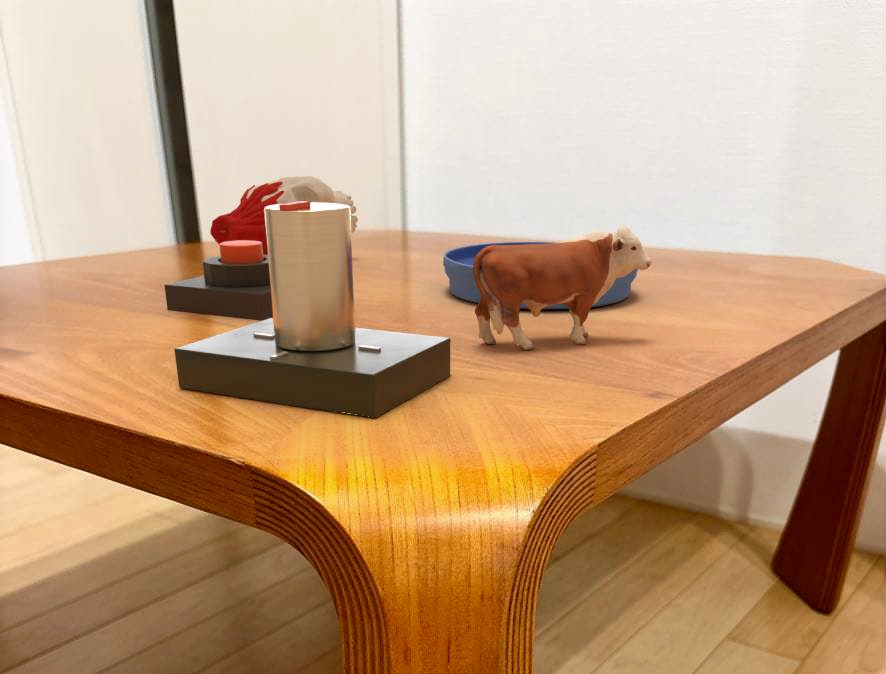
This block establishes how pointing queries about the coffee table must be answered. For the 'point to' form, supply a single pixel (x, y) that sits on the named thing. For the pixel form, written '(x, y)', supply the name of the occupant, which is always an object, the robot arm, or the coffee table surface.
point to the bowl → (465, 288)
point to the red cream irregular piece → (251, 214)
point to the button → (241, 251)
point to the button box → (225, 290)
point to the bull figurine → (551, 279)
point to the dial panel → (316, 369)
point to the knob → (311, 275)
